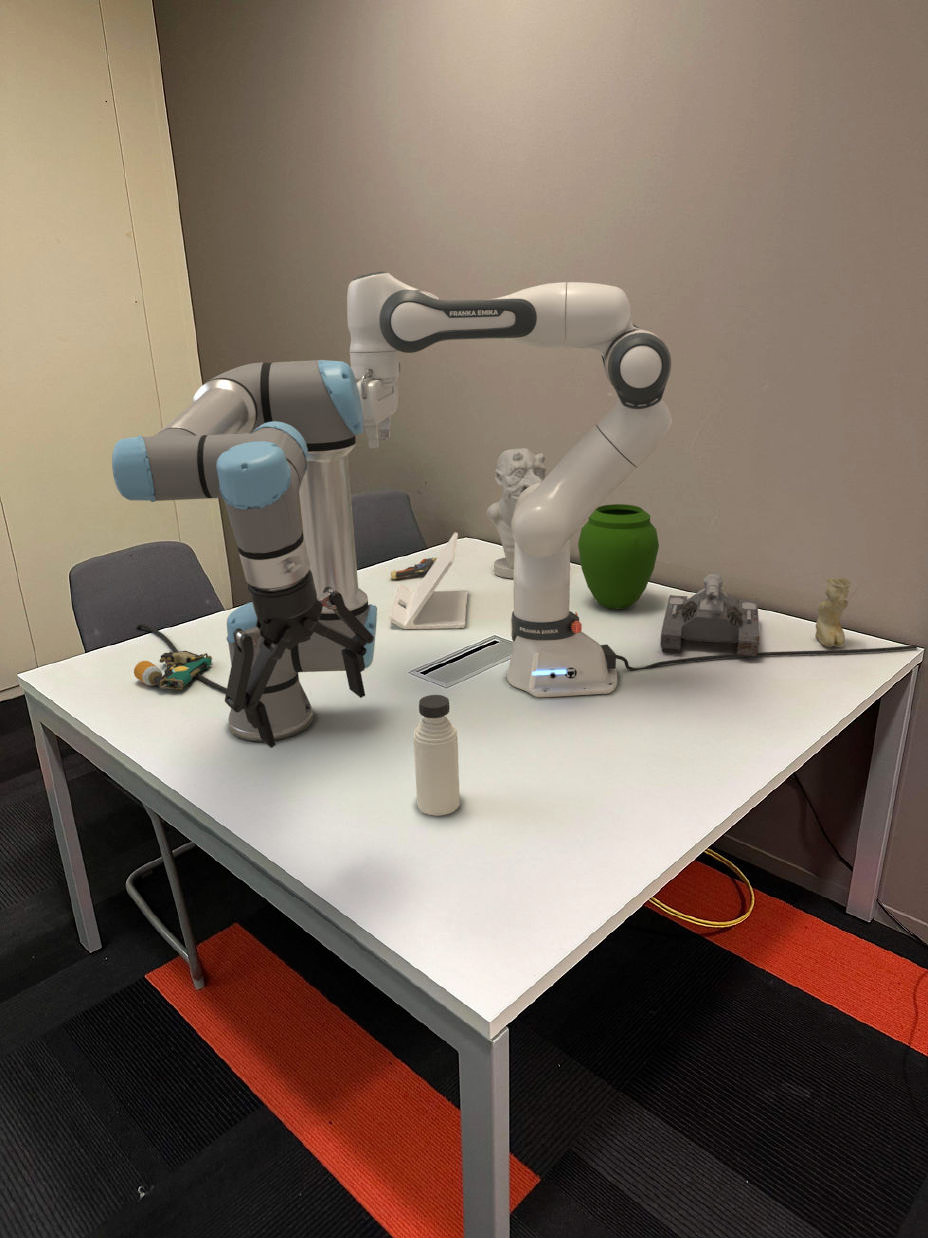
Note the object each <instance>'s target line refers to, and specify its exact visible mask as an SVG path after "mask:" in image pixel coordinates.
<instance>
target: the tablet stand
mask: <svg viewBox="0 0 928 1238" xmlns="http://www.w3.org/2000/svg"><path fill="white" fill-rule="evenodd" d="M458 537H459V533H458V532H456V531H455V532H453V534H452V535H451V537H450V539H449V540H448V542H447V543H446V544H445V546H444V548H443V549H442V551H441V552H440V554H439V555H438V556H437V557H436V558H437V559H436V561H435V562H434V563H433V564H431V566H430V567H429V569H428V571H427V573H426V574H425V575H424V577H423V579H422V580H421V581H420V583H419V584H418V585H417V587H416V589H415V590H412V589H410V588H409V587H407V586H406V585H403V584H400V585H399V586H398V589H397V591H396V595H395V598H394V601H393V604H392V607H391V610H390V612H389V613H390V614H389V617H388V621H389V622H391V623H392V624H394V625H396V626H398V627H399V628H401V629H402V630H426V629H427V630H429V629H430V630H431V629H435V630H436V629H437V630H438V629H464V628H465V627H466V618H467V617H466V616H467V605H468V591H467V590H436V589H437V587H438V585H440V582H441V581H442V580H443V578H444V577H445V575H446V574H447V573H448V571H449V570H450V569H451V567H452V566H453V564H454V562H455V558H456V553H457V545H458ZM399 603H400V604H399ZM402 605H403V606H405V607H403V606H402Z"/></svg>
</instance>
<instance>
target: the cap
mask: <svg viewBox="0 0 928 1238" xmlns="http://www.w3.org/2000/svg"><path fill="white" fill-rule="evenodd" d="M450 709H451V708H450V700H449V698H448V697H447V696H445V695H442V694H430V695H429V694H428V695H425V696H423V697H421V698H420V699H419V701H418V713H419V714H420V716H422V717H423V718H424V717H426V718H440V717H443V716H446V717H447V715H448V714H449V713H450Z"/></svg>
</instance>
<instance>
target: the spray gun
mask: <svg viewBox="0 0 928 1238" xmlns="http://www.w3.org/2000/svg"><path fill="white" fill-rule="evenodd" d="M178 651H179V650H178ZM212 660H213V657H212V656H211V655H208V653H207V652H205V653H201V654H197V653H194V652H192V651H191V652H190V651H188V650H180V651H179V652H173V651H169V652H164V653H162V654H161V655H160V658H159V660H158V662H159V663H161V664H163V663H165V664H166V668H165V670H163V672H164V674H163V673H162V669H160V668H159V666H157V665H156V664H154V663H152V662H151V661H149V660H141V661H139V662H138V663H136V665H135V666H134V668H133V675H134V677H135V678H136V679H137V680H139V681H140V682H142V683H143V684H145V685H147V686H155V685H157V686H158V687H160V688H161V689H171V690H172V689H173V690H182V689H184V687H185V686H186V685H188V684H189V683H190V682H191V681H192V679H193V678H195V677H196V674H197V673H199V674H200V673H201V672H202V671H203V670H206V669H208V668H209V667H210V666H211V665H212V662H213V661H212ZM178 663H179V664H181V665H179V666H176V665H177V664H178Z"/></svg>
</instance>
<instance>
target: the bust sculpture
mask: <svg viewBox="0 0 928 1238" xmlns="http://www.w3.org/2000/svg"><path fill="white" fill-rule="evenodd" d="M545 461H546V456H545V455H544V454H543V452H541V453H540V452H539V453H537V454H535V453H533V452H532V451H531V450H529V449H528V448H525V447H522V448H512V449H506V450H504V451H502V452H501V454H500V455H499V457H498V459H497V461H496V468H495V471H494V480H495V482H496V484H497V486H498V487H501V488H502V494H501V497H500V499H499V501H496V502H494V503H492V504H491V505H490V506H488V508H487V509H486V513H485V514H486V517H487V518H488V519H489V520H490V522H491V523H492V524H493V526H494V527H495V529H496V532H497V534H498V537H499V540H500V542H501V546H502V548H503V553H504V557H502V558H498V559H496V560H495V561H494V562H493V573H494V574H495V575H496V576H497V577H500V578H506V579H514V550H515V540H514V538H513V535H512V531H511V522H512V518H513V514H514V509H515V506H516V503H517V500H518V498H519V496H520V495H521V493H522V492H523V491H524V490H525V489H527V488H528V487H530V486H532V485H534V484H537V483H541V482H542V481H543V480H544V479H545V478H546V471H547V470H546V469H547V468H546V466H545V464H544V462H545Z"/></svg>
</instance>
